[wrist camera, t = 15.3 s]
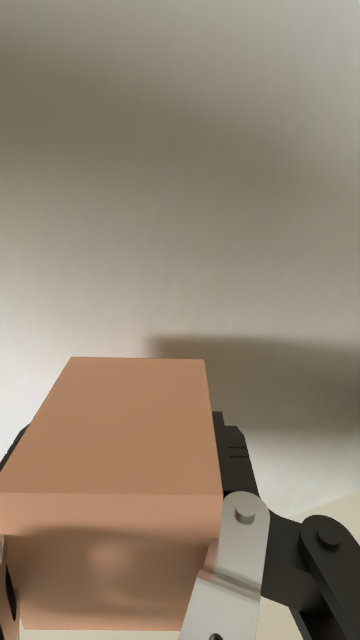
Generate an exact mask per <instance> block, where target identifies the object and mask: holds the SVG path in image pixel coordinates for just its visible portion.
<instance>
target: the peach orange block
mask: <svg viewBox="0 0 360 640" xmlns="http://www.w3.org/2000/svg"><path fill="white" fill-rule="evenodd" d="M222 504H223V490H222V483H221V476H220V469H219V462H218V454H217V447H216V440H215V433H214V426H213V418H212V411H211V404H210V397H209V389H208V382H207V375H206V368H205V361H204V359H163V358H106V357H71V358H70V359H69V361H68V362H67V364H66V366H65V367H64V369H63V371H62V372H61V374H60V376H59V377H58V379H57V380H56V382H55V384H54V385H53V387H52V389H51V390H50V392H49V394H48V395H47V397H46V398H45V400H44V402H43V403H42V405H41V407H40V408H39V410H38V412H37V413H36V415H35V416H34V418H33V420H32V421H31V423H30V425H29V426H28V428H27V430H26V431H25V433H24V434H23V436H22V438H21V439H20V441H19V443H18V444H17V446H16V448H15V449H14V451H13V452H12V454H11V456H10V457H9V459H8V461H7V462H6V464H5V466H4V467H3V469H2V470H1V472H0V534H5V538H6V542H7V546H8V552H7V567H8V570H9V574H10V578H11V582H12V586H13V588H18V591H19V595H20V599H21V601H20V616H21V620H22V624H23V627H24V629H40V630H139V631H140V630H141V631H147V630H148V631H181V628H182V625H183V622H184V618H185V615H186V612H187V608H188V605H189V601H190V598H191V595H192V591H193V588H194V585H195V581H196V578H197V575H198V572H199V570H200V568H203V565H204V563H205V559H206V556H207V552H208V549H209V545H210V542H211V538H219V535H220V525H221V514H222Z"/></svg>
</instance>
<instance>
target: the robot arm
mask: <svg viewBox="0 0 360 640" xmlns="http://www.w3.org/2000/svg"><path fill="white" fill-rule="evenodd" d="M212 418H213V426H214V433H215V440H216V447H217V454H218V462H219V469H220V476H221V483H222V490H223V504H222V514H221V525H220V535H219V538H211V542H210V545H209V549H208V552H207V556H206V559H205V563H204V565H203V568H200V570H199V572H198V575H197V578H196V581H195V585H194V588H193V591H192V595H191V598H190V601H189V605H188V608H187V612H186V615H185V618H184V622H183V625H182V628H181V632H180V635H179V638H178V640H255V638H256V629H257V622H258V615H259V607H260V599H261V596H263V597H265V598H268V599H270V600H273V601H275V602H278V603H280V604H283V605H285V606H288V607H289V609H290V611H291V614H292V616H293V618H294V620H295V622H296V624H297V626H298V629H299V631H300V633H301V635H302V637H303V640H360V546H359V544H358V543H357V542H356V540H355V539H354V537H353V536H352V535H351V534H350V532H349V531H348V530H347V529H346V528H345V527H344V526H343V525H342V524H341V523H339V522H338V521H336V520H334V519H333V518H330V517H327V516H323V515H312V516H309V517H307V518H306V519H305V520H304V521H303V523H302V524H301V523H298V522H295V521H292V520H289V519H286V518H283V517H280V516H278V515H277V514H275V513H273V512H272V511H271V510H269V509H268V507H267V506H266V504H265V503H264V502H263V501H262V500H261V498H260V496H259V493H258V489H257V485H256V481H255V477H254V473H253V469H252V465H251V461H250V459H249V453H248V449H247V445H246V441H245V437H244V435H243V434H242V433H241V431H240V430H239V429H238V428H237V426H224V420H223V415H222V412H215V411H212ZM29 425H30V424H28V425H27V426H26V427H25V428H23V429H22V430H21V431H20V432H19V434H18V435H17V437H16V439H15V440H14V442H13V444H12V445H11V446H10V448H9V450H8V451H7V454H5V456H4V458H3V459H2V461H1V462H0V472H1V470H2V469H3V467H4V466H5V464H6V462H7V461H8V459H9V457H10V456H11V454H12V452H13V451H14V449H15V448H16V446H17V444H18V443H19V441H20V439H21V438H22V436H23V434H24V433H25V431H26V430H27V428H28V426H29ZM7 552H8V546H7V542H6V538H5V534H0V640H20V639H19V620H20V601H21V599H20V595H19V591H18V588H13V586H12V582H11V578H10V574H9V570H8V567H7Z"/></svg>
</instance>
